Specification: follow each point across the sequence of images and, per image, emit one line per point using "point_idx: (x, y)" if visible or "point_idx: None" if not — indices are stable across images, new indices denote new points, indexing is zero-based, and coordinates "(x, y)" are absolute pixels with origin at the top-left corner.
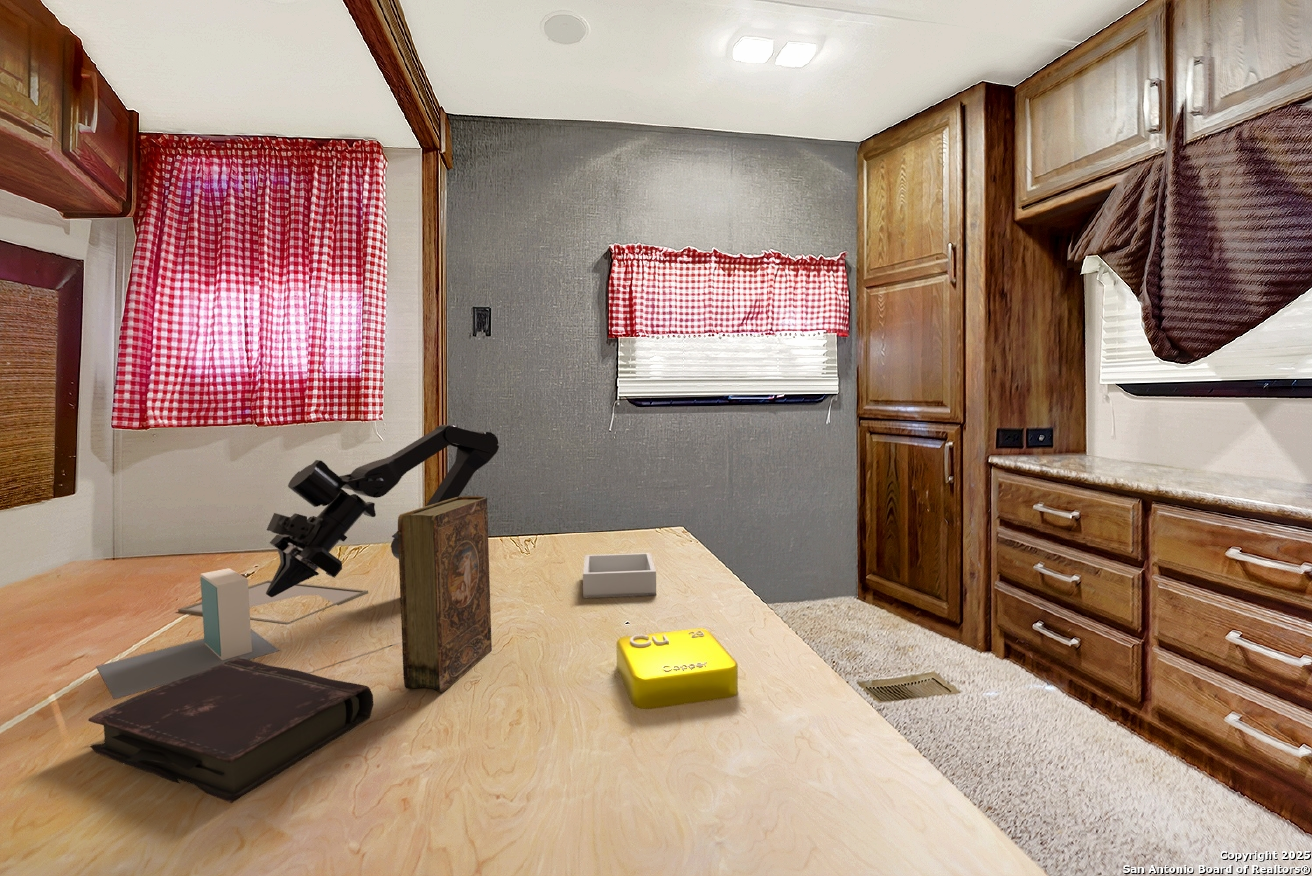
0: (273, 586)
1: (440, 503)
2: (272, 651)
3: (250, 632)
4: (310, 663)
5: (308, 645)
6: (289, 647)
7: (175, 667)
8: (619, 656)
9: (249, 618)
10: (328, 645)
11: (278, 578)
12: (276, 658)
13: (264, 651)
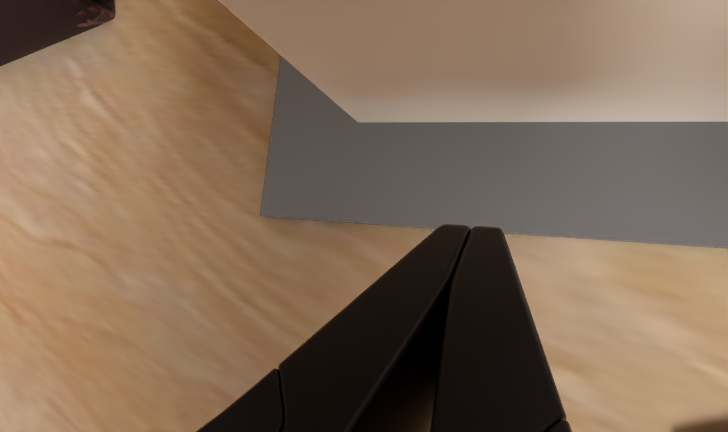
0: (384, 279)
1: None
2: (275, 187)
3: (313, 81)
4: (72, 248)
5: (240, 343)
6: (295, 276)
7: None
8: None
9: (265, 38)
10: (163, 396)
11: (321, 350)
12: (223, 182)
13: (309, 163)
